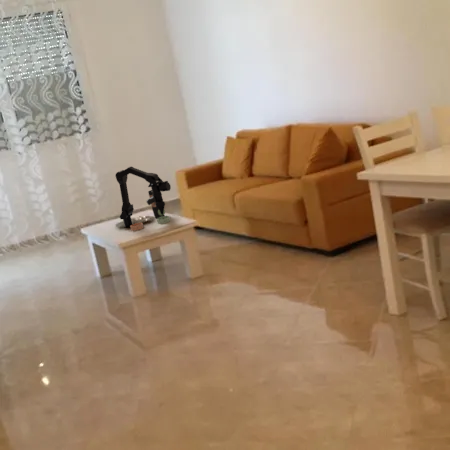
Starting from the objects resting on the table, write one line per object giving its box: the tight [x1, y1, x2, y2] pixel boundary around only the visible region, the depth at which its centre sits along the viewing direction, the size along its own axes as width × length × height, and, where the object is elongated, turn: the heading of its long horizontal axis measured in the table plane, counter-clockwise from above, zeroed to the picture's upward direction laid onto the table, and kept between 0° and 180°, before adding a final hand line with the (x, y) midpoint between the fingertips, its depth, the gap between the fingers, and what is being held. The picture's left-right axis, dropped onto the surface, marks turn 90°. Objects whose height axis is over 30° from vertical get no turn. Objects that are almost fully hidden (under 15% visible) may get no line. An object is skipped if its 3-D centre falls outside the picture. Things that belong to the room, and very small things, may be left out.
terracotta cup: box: [129, 222, 145, 232], centre depth 481 cm, size 8×8×3 cm
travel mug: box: [147, 189, 166, 220], centre depth 499 cm, size 8×8×20 cm
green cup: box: [156, 215, 171, 225], centre depth 484 cm, size 8×8×3 cm
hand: (161, 213), depth 483 cm, fingers closed on ball, 5 cm apart
